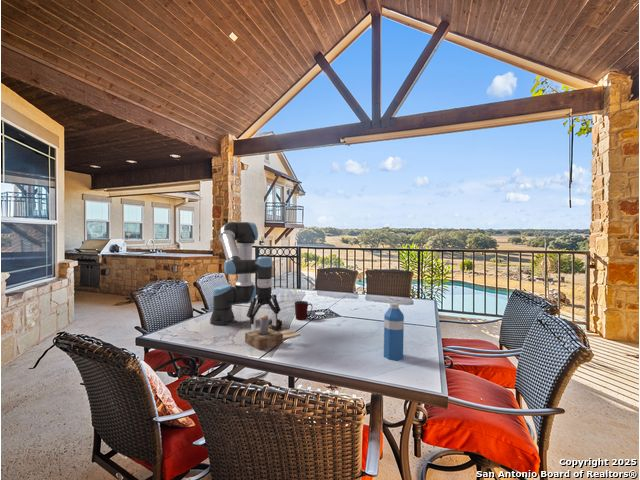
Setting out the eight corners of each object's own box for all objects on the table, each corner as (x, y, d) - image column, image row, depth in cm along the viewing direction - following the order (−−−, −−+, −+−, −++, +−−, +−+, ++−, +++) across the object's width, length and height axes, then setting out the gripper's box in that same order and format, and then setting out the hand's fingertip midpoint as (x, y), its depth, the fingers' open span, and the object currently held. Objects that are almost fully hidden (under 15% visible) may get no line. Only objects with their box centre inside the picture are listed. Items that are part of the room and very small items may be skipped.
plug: (258, 342, 157) (258, 316, 156) (265, 341, 159) (265, 314, 159) (262, 344, 154) (262, 317, 153) (269, 343, 156) (269, 316, 156)
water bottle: (380, 352, 145) (381, 301, 145) (399, 352, 146) (400, 301, 145) (386, 360, 136) (387, 306, 135) (406, 360, 137) (407, 305, 136)
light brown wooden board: (270, 334, 170) (270, 333, 170) (287, 330, 178) (287, 329, 178) (282, 340, 161) (282, 338, 161) (300, 335, 169) (300, 334, 169)
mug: (313, 317, 206) (313, 301, 206) (311, 320, 198) (311, 304, 197) (296, 316, 208) (296, 300, 208) (293, 320, 199) (293, 303, 199)
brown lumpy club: (270, 335, 166) (269, 325, 166) (259, 334, 168) (259, 324, 169) (284, 327, 183) (283, 317, 183) (274, 326, 185) (274, 317, 185)
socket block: (245, 342, 157) (245, 333, 157) (267, 336, 166) (267, 327, 166) (259, 350, 147) (259, 340, 146) (282, 343, 156) (282, 333, 156)
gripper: (247, 290, 145) (247, 334, 145) (287, 285, 162) (287, 324, 162) (239, 288, 150) (239, 331, 151) (279, 283, 167) (278, 321, 167)
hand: (264, 327), depth 156 cm, fingers open, 12 cm apart
